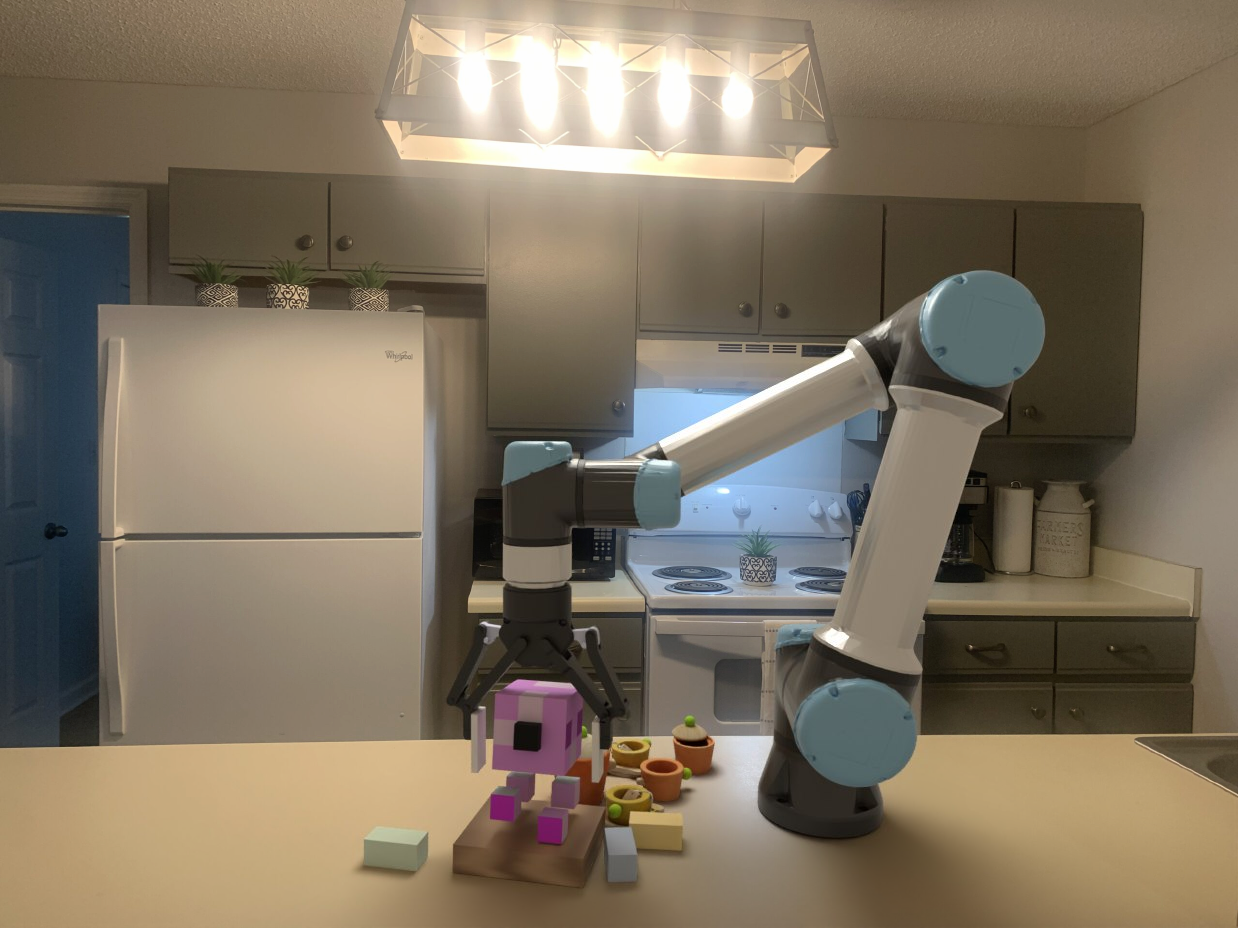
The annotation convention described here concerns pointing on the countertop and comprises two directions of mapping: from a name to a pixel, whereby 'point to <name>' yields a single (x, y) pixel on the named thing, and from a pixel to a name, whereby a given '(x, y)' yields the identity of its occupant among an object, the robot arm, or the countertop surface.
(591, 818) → the pedestal
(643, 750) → the toy tea set
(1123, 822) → the countertop surface
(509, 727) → the toy
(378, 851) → the brick sage
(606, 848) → the brick slate
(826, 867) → the countertop surface
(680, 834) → the brick ochre
